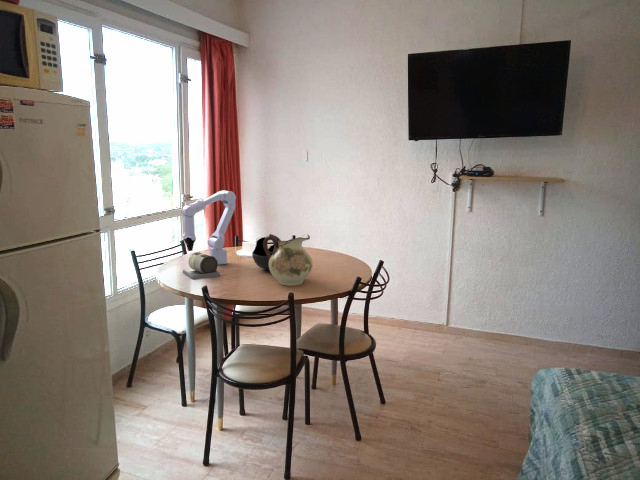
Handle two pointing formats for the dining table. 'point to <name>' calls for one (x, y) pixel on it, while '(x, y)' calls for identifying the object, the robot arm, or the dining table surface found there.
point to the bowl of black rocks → (262, 254)
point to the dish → (247, 249)
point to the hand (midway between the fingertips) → (190, 250)
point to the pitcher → (288, 260)
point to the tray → (200, 274)
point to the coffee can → (203, 263)
